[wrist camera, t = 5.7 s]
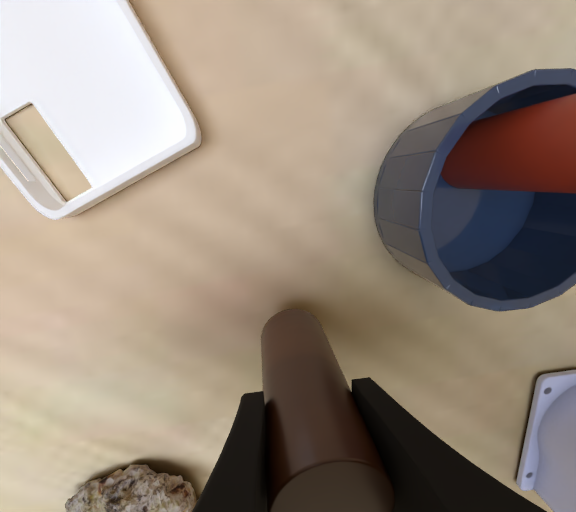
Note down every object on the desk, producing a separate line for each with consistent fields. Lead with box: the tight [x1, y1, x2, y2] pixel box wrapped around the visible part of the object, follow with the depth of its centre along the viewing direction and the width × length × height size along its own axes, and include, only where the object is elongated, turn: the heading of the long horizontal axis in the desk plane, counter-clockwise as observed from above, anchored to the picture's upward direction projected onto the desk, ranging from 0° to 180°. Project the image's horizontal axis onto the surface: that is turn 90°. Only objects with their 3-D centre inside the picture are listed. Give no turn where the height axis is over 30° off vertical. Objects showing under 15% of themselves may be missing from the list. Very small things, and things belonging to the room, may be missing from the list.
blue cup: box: [374, 68, 576, 311], centre depth 13 cm, size 9×9×4 cm
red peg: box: [441, 94, 576, 193], centre depth 10 cm, size 3×3×8 cm
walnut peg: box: [261, 309, 395, 512], centre depth 10 cm, size 3×3×8 cm
